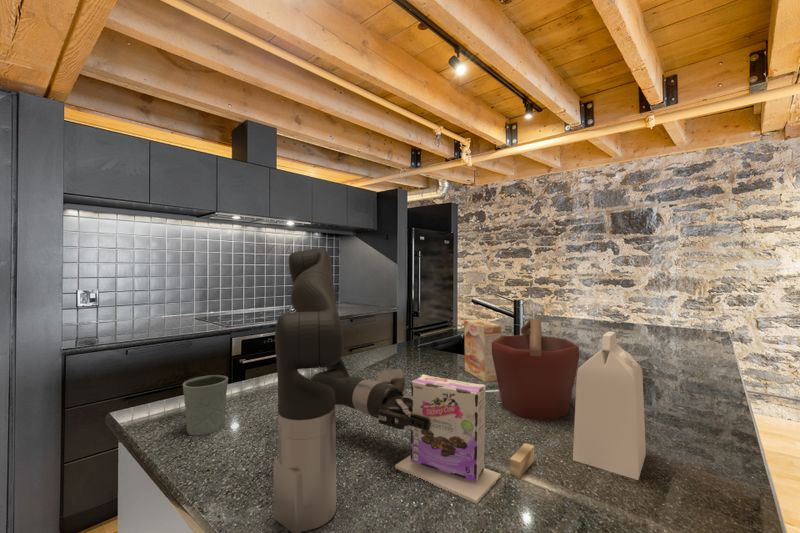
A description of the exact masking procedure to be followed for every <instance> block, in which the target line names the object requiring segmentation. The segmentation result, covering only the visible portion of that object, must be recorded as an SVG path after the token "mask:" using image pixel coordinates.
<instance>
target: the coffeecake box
mask: <svg viewBox="0 0 800 533" xmlns="http://www.w3.org/2000/svg"><path fill="white" fill-rule="evenodd" d="M463 325H464V332H463V333H464V371H465V372H467V373H469V374H471V376H474V377H475V378H477V379H479V380H480V381H482V382H484V383H489V382H494V381H497V376H496V371H495V366H494V362H493V357H492V342H493V341H494V340H496V339H497V338H499V337H501V336H502V324H501V325H500V324H499V323H494V322H491V321H487V320H483V319H480V318H477V319H476V318H475V319H472V318H471V319H464V324H463ZM497 382H498V381H497Z"/></svg>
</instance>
